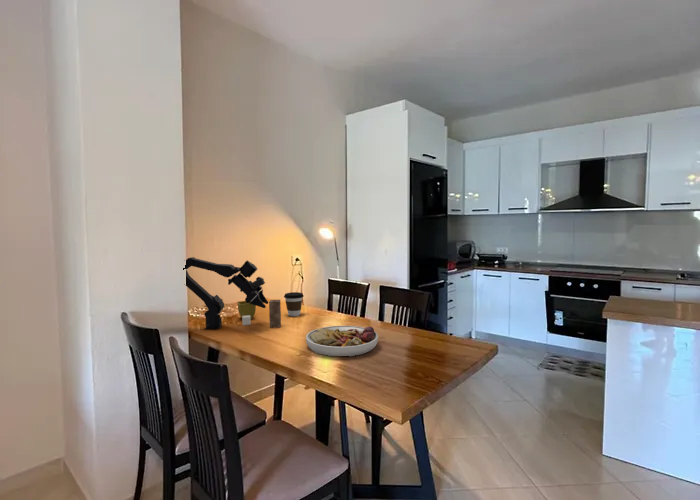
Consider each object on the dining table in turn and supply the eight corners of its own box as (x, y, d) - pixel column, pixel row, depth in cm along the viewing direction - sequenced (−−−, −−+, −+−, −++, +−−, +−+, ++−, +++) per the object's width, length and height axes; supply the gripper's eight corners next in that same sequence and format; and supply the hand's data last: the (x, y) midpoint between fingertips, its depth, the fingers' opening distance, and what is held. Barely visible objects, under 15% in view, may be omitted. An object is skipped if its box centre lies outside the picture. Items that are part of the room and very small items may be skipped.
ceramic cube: (242, 325, 192) (242, 317, 191) (242, 323, 196) (242, 315, 195) (250, 324, 193) (250, 317, 192) (250, 322, 197) (250, 315, 196)
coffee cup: (283, 313, 216) (282, 292, 215) (302, 312, 219) (301, 291, 218) (285, 318, 205) (285, 296, 204) (305, 316, 209) (305, 295, 208)
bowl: (312, 363, 140) (312, 342, 139) (301, 339, 169) (301, 322, 168) (388, 355, 148) (388, 335, 147) (365, 333, 177) (365, 317, 176)
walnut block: (269, 327, 187) (269, 301, 186) (270, 324, 192) (270, 299, 191) (279, 327, 187) (279, 301, 186) (280, 324, 192) (280, 299, 191)
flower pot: (237, 317, 208) (236, 301, 207) (253, 315, 211) (253, 299, 211) (239, 321, 200) (239, 304, 199) (256, 319, 203) (256, 302, 203)
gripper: (251, 275, 178) (275, 297, 179) (257, 270, 196) (279, 290, 198) (234, 292, 178) (259, 314, 179) (242, 285, 196) (265, 305, 198)
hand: (266, 305), depth 189 cm, fingers open, 9 cm apart
